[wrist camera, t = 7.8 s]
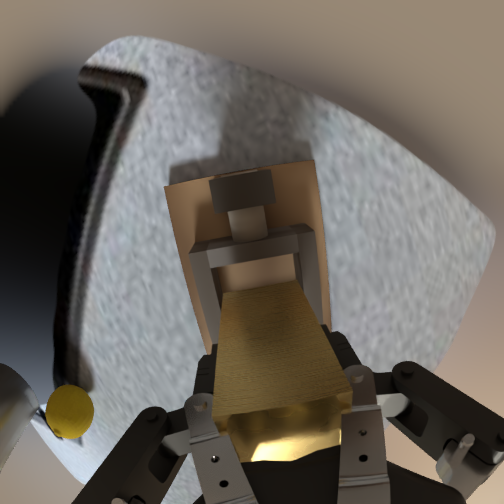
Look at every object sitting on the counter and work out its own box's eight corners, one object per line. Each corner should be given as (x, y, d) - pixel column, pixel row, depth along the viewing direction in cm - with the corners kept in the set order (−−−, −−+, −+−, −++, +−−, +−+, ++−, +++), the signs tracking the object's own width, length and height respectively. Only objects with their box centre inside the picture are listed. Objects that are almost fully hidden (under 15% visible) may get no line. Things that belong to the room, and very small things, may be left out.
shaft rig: (215, 367, 26) (212, 411, 20) (168, 185, 21) (145, 191, 15) (328, 347, 26) (346, 386, 20) (308, 160, 21) (333, 157, 15)
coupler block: (237, 352, 17) (240, 476, 8) (223, 293, 16) (211, 416, 7) (303, 340, 17) (346, 457, 8) (297, 279, 16) (352, 390, 7)
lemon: (56, 371, 26) (26, 413, 18) (88, 371, 26) (60, 419, 18) (77, 404, 27) (54, 447, 20) (110, 406, 27) (89, 454, 20)
